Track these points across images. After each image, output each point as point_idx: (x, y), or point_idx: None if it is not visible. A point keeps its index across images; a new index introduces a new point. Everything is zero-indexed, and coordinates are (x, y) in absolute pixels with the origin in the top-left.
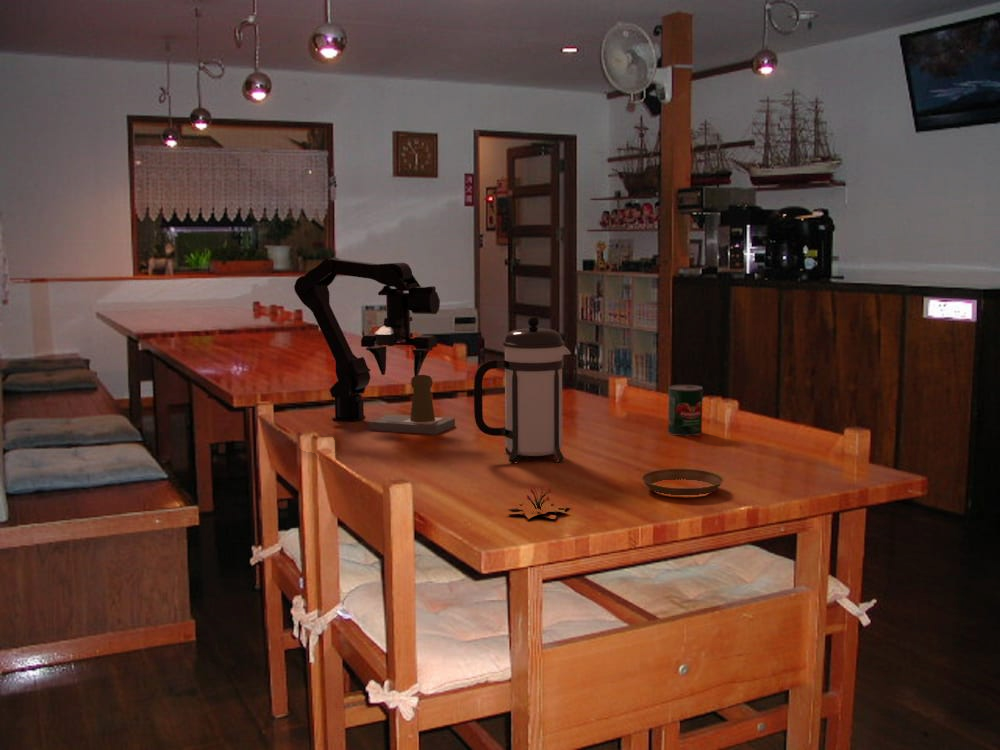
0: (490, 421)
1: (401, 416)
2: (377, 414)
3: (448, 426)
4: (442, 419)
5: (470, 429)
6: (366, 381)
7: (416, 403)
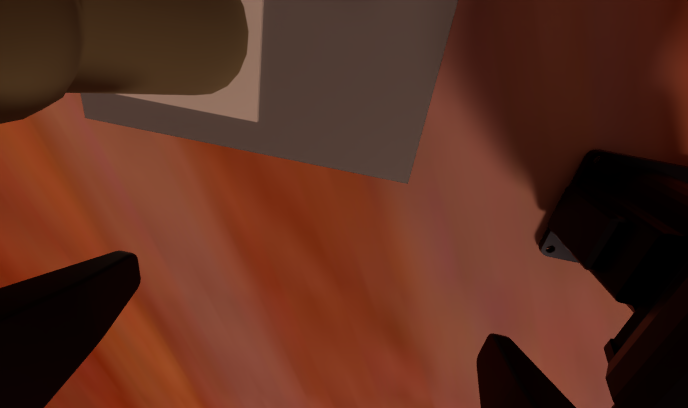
0: (57, 217)
1: (334, 130)
2: (494, 309)
3: None
4: None
5: None
6: (636, 361)
7: None
